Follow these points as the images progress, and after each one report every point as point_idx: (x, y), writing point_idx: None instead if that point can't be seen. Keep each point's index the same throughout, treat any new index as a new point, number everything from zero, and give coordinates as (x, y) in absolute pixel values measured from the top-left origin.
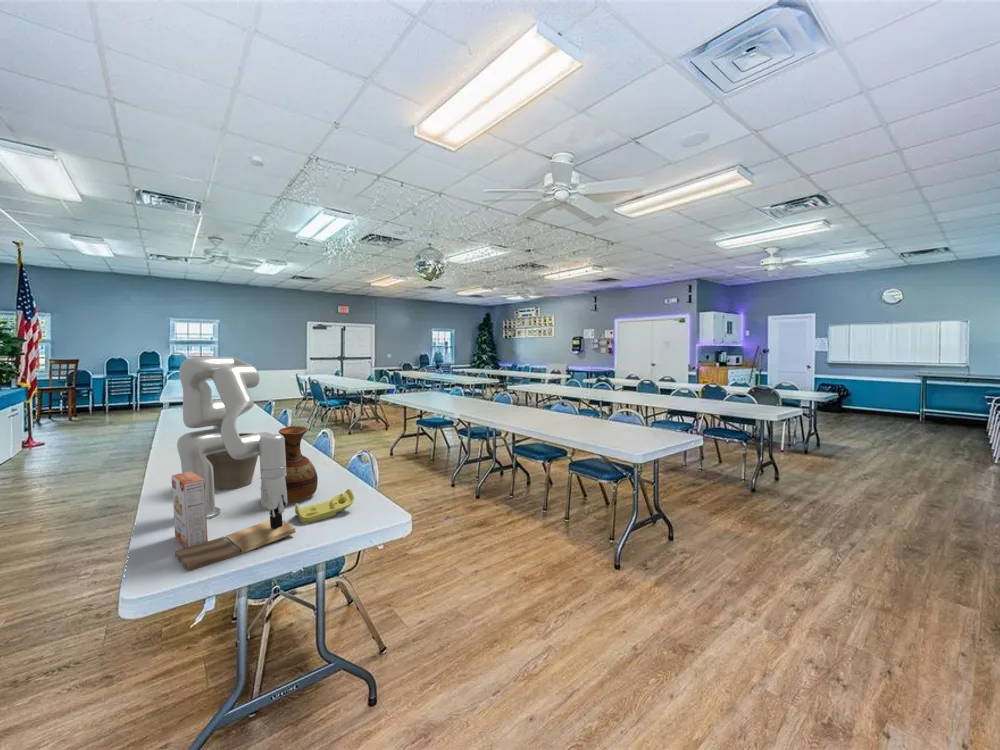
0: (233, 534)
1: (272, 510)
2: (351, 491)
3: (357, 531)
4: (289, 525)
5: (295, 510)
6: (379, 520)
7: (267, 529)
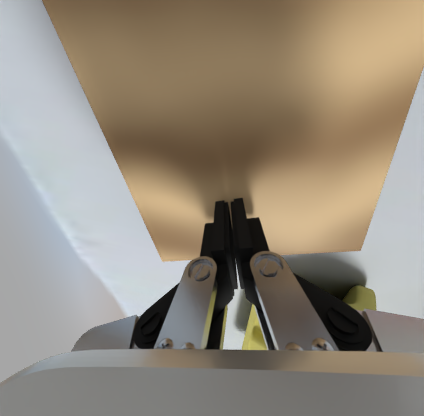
0: None
1: (199, 320)
2: None
3: (134, 312)
4: None
5: (367, 302)
6: None
7: (243, 179)
